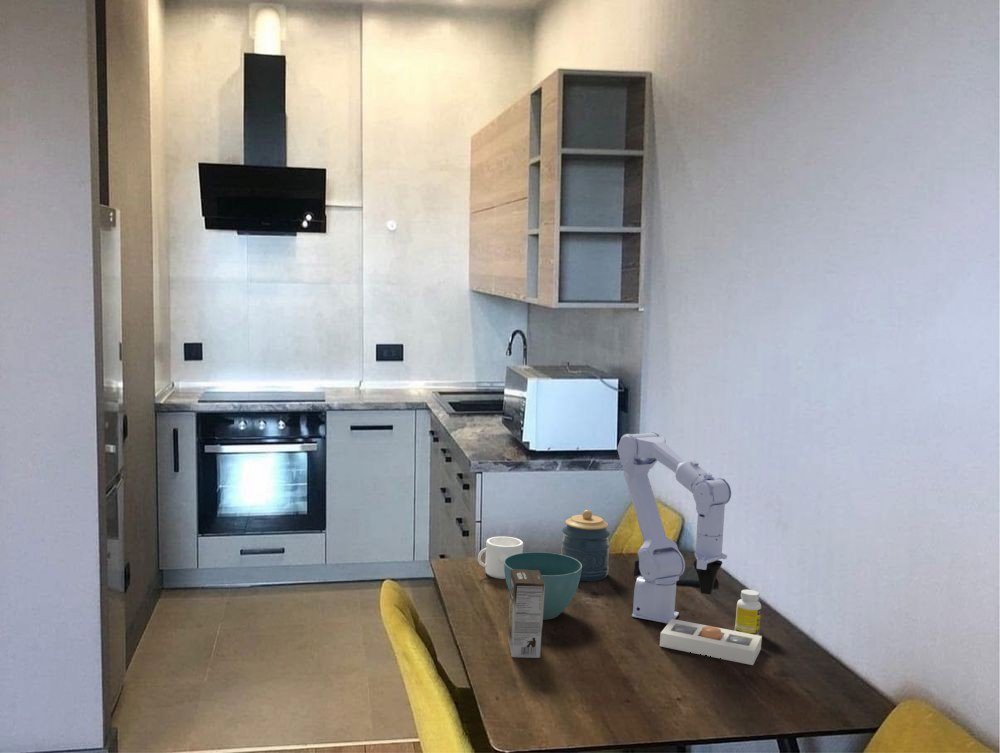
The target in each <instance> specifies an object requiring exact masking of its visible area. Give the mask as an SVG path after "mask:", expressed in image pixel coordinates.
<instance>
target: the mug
mask: <svg viewBox="0 0 1000 753" xmlns="http://www.w3.org/2000/svg"><path fill="white" fill-rule="evenodd" d="M485 544H486V545H485V546H486V547H485V548H482V549H481V550H480V551H479V553H478V555H477V563H479V565H480V566H481V567H483V568H484V569H485V570H484V571H485V573H486V574H487V576H489V577H491V578H493V579H500V580H506V578H505V571H504V560H505V559H506V558H507V557H509V556H511V555H515V554H519V553H524V551H523V550H524V542H523V541H522V540H521V539H519V538H517V537H512V536H493V537H490V538H489V537H488V538H487V540H486V542H485ZM483 553H485V563H484V562H483V561H482V555H483Z"/></svg>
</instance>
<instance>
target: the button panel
mask: <svg viewBox="0 0 1000 753" xmlns="http://www.w3.org/2000/svg"><path fill="white" fill-rule="evenodd" d="M677 626H687V627H690V628H692V629H693V635H690V634H685V633H680V632H675V627H677ZM706 626H708V625H707V624H706V625H705V624H700V623H695V622H691V621H687V620H686V621H685V620H680V619H677V618H675V619H671V620H670V622H669V623H668V624H667V623H666V626H665V627H664V628H663V629H662V630H661V631H660V633H659V635H660V636H659V647H661V648H662V647H663V648H667V649H672V650H677V651H682V652H685V653H690V652H691V654H697V655H700V654H701V655H700V656H705V655H707V656H706V657H710V656H711V657H710V658H716V659H720V658H721V659H720V660H726V661H730V662H735V663H740V664H746V665H751V666H754V664H755V662H756V660H757V658H758V656H759V654H760V652H761V650H762V640H763V639H762V638H763V636H762V635H760V634H759V635H754V634H749V633H743V632H738V631H735V630H734V629H733V630H731V629H727V628H721V627H717V626H715V627H716V628H719V629H720V630H721V638H720V640H715V639H710V638H705V637H702V628H703V627H706ZM734 636H737V637H743V638H746V639H748V641H749V644H748V646H746V645H741V644H736V643H731V642H729V641H730V637H734Z"/></svg>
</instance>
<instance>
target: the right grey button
mask: <svg viewBox="0 0 1000 753" xmlns="http://www.w3.org/2000/svg"><path fill="white" fill-rule="evenodd" d="M729 642H731V643H736V644H741V645H746V646H748V644H749V641H748V639H746V638H743V637H737V636H734V637H730V641H729Z"/></svg>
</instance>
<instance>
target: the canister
mask: <svg viewBox="0 0 1000 753" xmlns="http://www.w3.org/2000/svg"><path fill="white" fill-rule="evenodd" d="M565 524H566V526H564V527H562V529H561V532H562V534H563V538H562V540H561V550H560V554H562V555H566V556H569V557H572V558H574V559H576V560H578V561H579V562H580V563H581V564H582V571H581V577H580V581H579V582H598V581H602V580H604V579H606V578H607V577H608V575H609V574H608V573H609V569H610V568H609V556H610V554H609V553H610V547H611V544H610V542H609V538H610V537H611V535H612V533H611V531H610V530H609V529H608V526H609V522H607V521H605V520H604V519H603V518H602V517H600V516H597V515H593V512H592V511H591V510H589V509H585V510H584V511H582V514H574V515H572V516H571V517H569V518H567V519H566V520H565Z"/></svg>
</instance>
